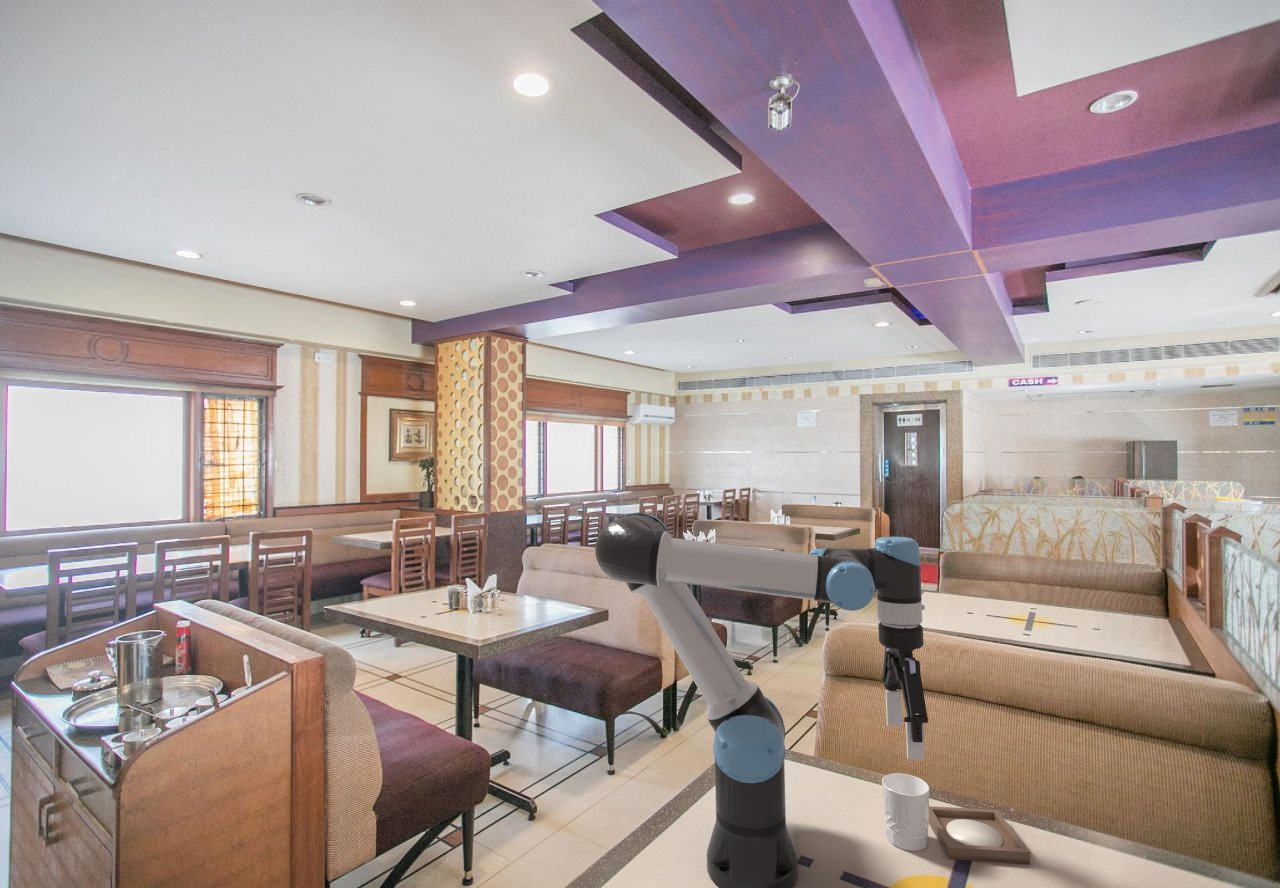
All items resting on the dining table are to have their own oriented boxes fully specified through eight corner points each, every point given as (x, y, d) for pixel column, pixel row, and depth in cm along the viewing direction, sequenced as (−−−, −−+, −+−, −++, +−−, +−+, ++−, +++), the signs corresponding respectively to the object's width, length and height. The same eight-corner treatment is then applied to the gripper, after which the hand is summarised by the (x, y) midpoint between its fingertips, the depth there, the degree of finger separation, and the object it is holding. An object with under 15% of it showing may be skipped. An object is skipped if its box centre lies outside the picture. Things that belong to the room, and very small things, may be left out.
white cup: (936, 856, 109) (934, 797, 109) (887, 851, 111) (886, 793, 111) (925, 829, 117) (923, 774, 117) (880, 825, 118) (878, 771, 119)
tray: (949, 859, 108) (948, 847, 108) (925, 816, 121) (924, 806, 121) (1030, 864, 106) (1030, 852, 106) (997, 820, 119) (997, 809, 119)
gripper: (945, 643, 102) (951, 776, 101) (902, 607, 127) (906, 714, 126) (897, 642, 103) (902, 774, 102) (863, 607, 128) (867, 713, 127)
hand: (904, 741), depth 114 cm, fingers open, 13 cm apart
